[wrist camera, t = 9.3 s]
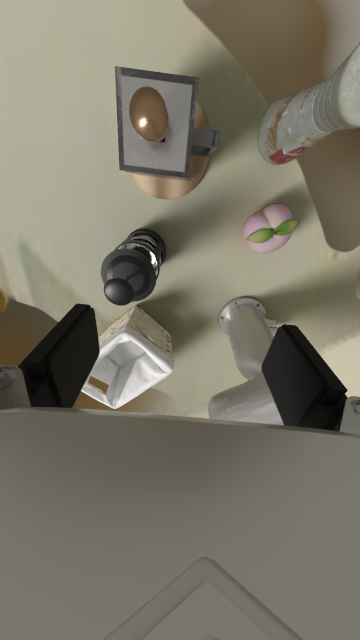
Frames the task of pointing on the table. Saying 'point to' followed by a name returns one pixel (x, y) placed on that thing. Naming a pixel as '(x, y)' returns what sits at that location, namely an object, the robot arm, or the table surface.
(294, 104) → the bottle
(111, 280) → the french press
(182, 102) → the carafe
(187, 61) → the table surface
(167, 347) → the storage basket
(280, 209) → the decorative fruit
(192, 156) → the coaster
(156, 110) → the plunger
